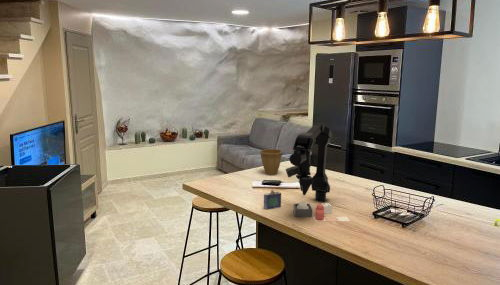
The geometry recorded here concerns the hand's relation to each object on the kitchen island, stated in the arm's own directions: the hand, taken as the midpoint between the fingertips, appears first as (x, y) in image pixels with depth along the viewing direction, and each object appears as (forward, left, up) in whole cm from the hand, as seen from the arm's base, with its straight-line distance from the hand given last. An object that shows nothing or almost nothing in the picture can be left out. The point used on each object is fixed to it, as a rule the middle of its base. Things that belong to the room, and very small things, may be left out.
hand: (303, 192), depth 178 cm
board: (+2, +8, -12) cm, 15 cm away
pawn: (+6, +7, -10) cm, 14 cm away
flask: (-9, -14, -12) cm, 21 cm away
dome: (0, 0, -9) cm, 9 cm away
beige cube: (-2, +12, -11) cm, 16 cm away
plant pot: (-77, -10, -12) cm, 79 cm away
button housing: (0, 0, -11) cm, 11 cm away
